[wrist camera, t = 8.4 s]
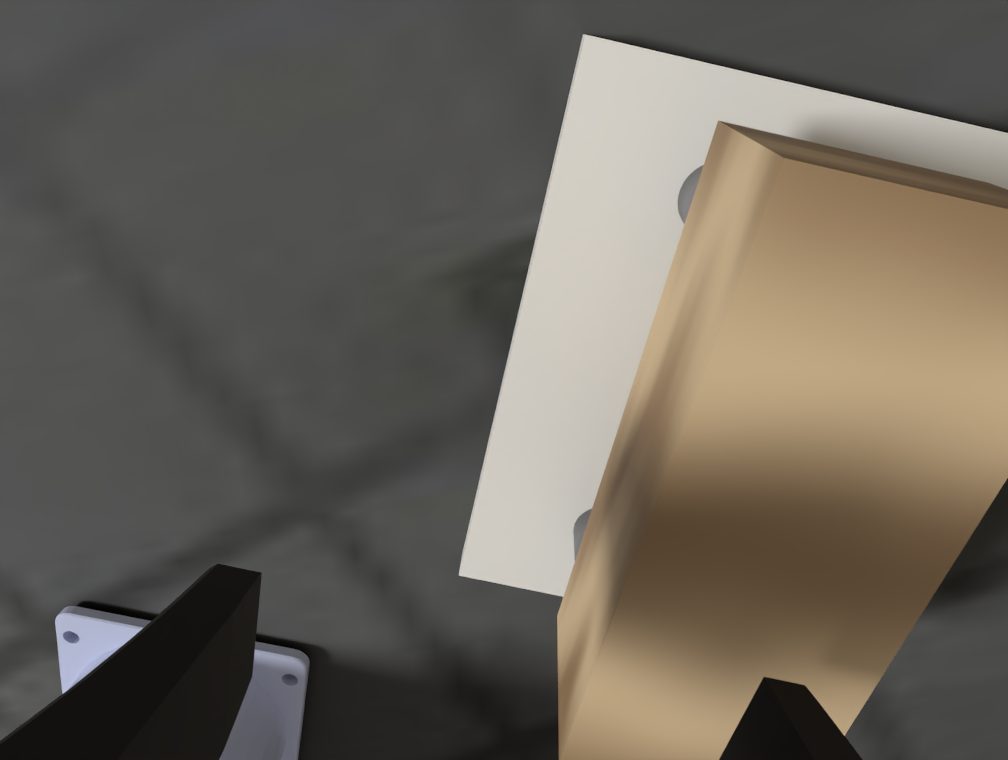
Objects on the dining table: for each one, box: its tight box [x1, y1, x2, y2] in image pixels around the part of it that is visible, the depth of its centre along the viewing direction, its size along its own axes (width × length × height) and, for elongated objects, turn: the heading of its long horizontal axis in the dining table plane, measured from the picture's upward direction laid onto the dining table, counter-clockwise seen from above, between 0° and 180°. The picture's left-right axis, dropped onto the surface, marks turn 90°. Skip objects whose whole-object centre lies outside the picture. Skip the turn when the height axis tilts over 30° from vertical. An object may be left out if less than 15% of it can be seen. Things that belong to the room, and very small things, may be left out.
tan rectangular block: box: [557, 121, 1008, 760], centre depth 14 cm, size 12×5×4 cm, turn 168°
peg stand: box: [459, 34, 1008, 597], centre depth 17 cm, size 14×10×3 cm
